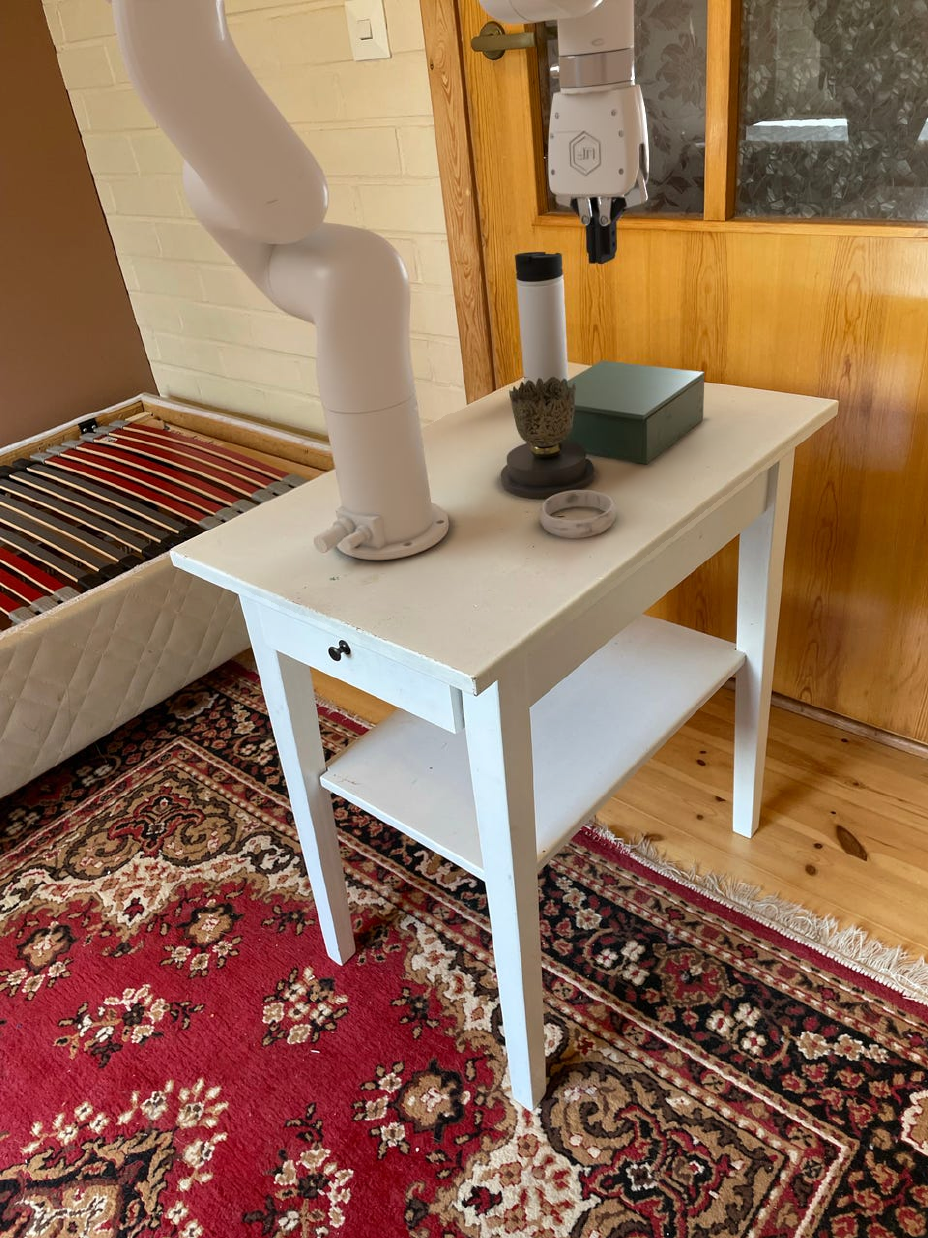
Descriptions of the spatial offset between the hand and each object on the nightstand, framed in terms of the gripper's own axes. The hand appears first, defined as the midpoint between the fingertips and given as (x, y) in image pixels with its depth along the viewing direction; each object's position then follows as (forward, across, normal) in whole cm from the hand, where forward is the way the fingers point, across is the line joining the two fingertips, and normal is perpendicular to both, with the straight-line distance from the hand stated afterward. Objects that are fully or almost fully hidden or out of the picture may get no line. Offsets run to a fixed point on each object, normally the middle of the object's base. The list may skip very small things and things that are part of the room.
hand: (602, 260), depth 105 cm
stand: (+22, -2, -11) cm, 25 cm away
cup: (+19, -1, -11) cm, 22 cm away
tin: (+22, 0, +4) cm, 22 cm away
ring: (+22, +8, -19) cm, 30 cm away
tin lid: (+16, 0, +4) cm, 17 cm away
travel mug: (+22, -16, +12) cm, 30 cm away
